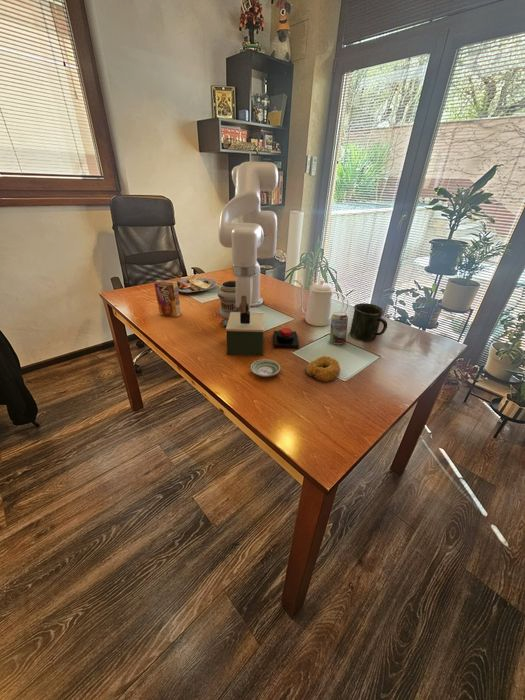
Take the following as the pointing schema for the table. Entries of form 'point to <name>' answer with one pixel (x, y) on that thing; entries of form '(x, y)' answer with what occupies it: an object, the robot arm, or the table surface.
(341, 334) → the beverage can
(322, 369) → the bagel
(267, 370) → the saucer
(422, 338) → the table surface
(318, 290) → the coffeepot
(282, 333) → the button
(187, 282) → the food plate
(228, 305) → the apothecary jar
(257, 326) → the lid
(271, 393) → the table surface
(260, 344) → the box
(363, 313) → the mug
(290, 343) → the switch block
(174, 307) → the candy box
